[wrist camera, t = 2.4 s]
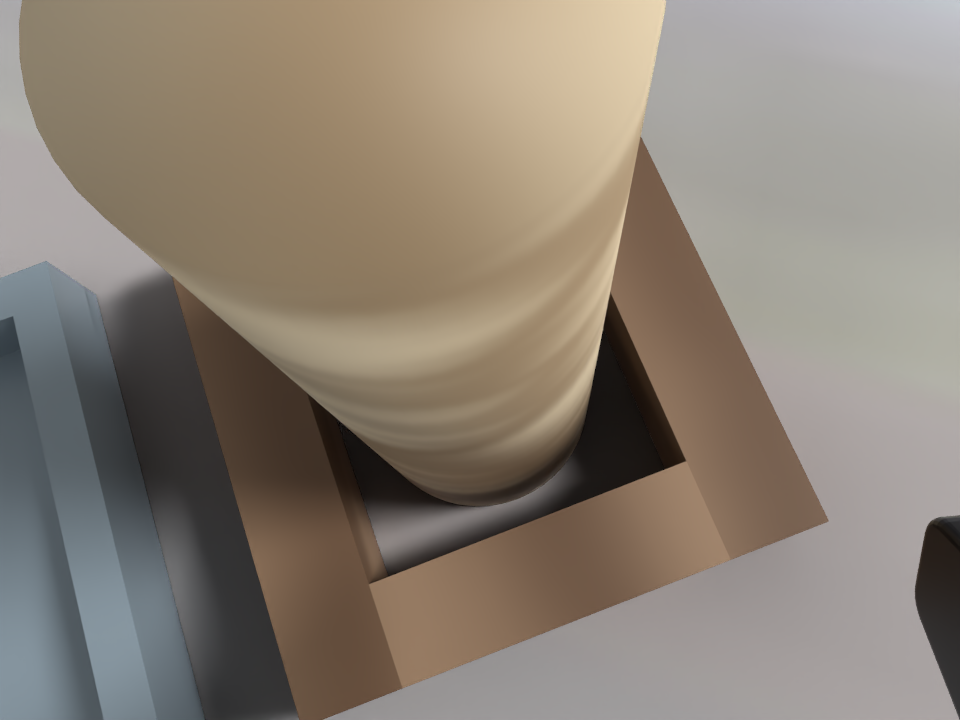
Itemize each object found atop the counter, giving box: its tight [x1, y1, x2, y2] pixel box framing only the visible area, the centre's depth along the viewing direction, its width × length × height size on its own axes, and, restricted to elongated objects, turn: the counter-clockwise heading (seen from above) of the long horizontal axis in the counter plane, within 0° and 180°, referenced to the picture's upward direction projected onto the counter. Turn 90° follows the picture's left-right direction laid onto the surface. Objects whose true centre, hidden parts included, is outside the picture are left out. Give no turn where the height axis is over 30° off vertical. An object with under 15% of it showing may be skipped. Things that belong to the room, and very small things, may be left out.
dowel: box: [19, 0, 666, 506], centre depth 13 cm, size 5×5×14 cm
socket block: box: [172, 136, 829, 720], centre depth 19 cm, size 11×11×2 cm
